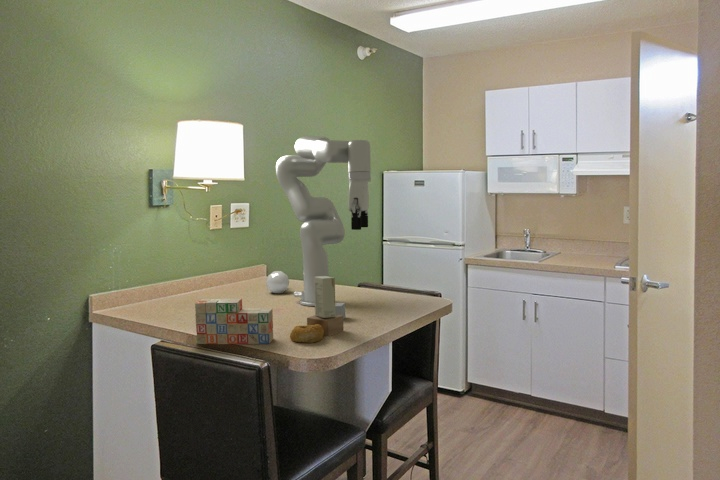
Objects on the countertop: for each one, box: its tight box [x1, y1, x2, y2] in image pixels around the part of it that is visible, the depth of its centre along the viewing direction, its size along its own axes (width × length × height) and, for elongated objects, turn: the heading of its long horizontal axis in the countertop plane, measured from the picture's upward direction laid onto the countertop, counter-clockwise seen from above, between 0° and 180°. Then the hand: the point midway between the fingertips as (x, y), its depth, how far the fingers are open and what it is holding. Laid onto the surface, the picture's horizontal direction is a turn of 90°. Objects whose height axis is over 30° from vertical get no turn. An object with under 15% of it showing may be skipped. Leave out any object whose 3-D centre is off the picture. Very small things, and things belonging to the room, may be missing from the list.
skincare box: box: [314, 275, 336, 318], centre depth 181 cm, size 6×4×12 cm
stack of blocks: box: [194, 298, 274, 345], centre depth 172 cm, size 21×6×12 cm, turn 87°
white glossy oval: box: [265, 270, 290, 294], centre depth 247 cm, size 9×10×15 cm
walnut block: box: [306, 314, 344, 337], centre depth 182 cm, size 8×8×5 cm
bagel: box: [289, 324, 324, 344], centre depth 174 cm, size 10×11×5 cm
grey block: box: [335, 302, 346, 320], centre depth 198 cm, size 5×5×5 cm
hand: (359, 228), depth 198 cm, fingers open, 9 cm apart
